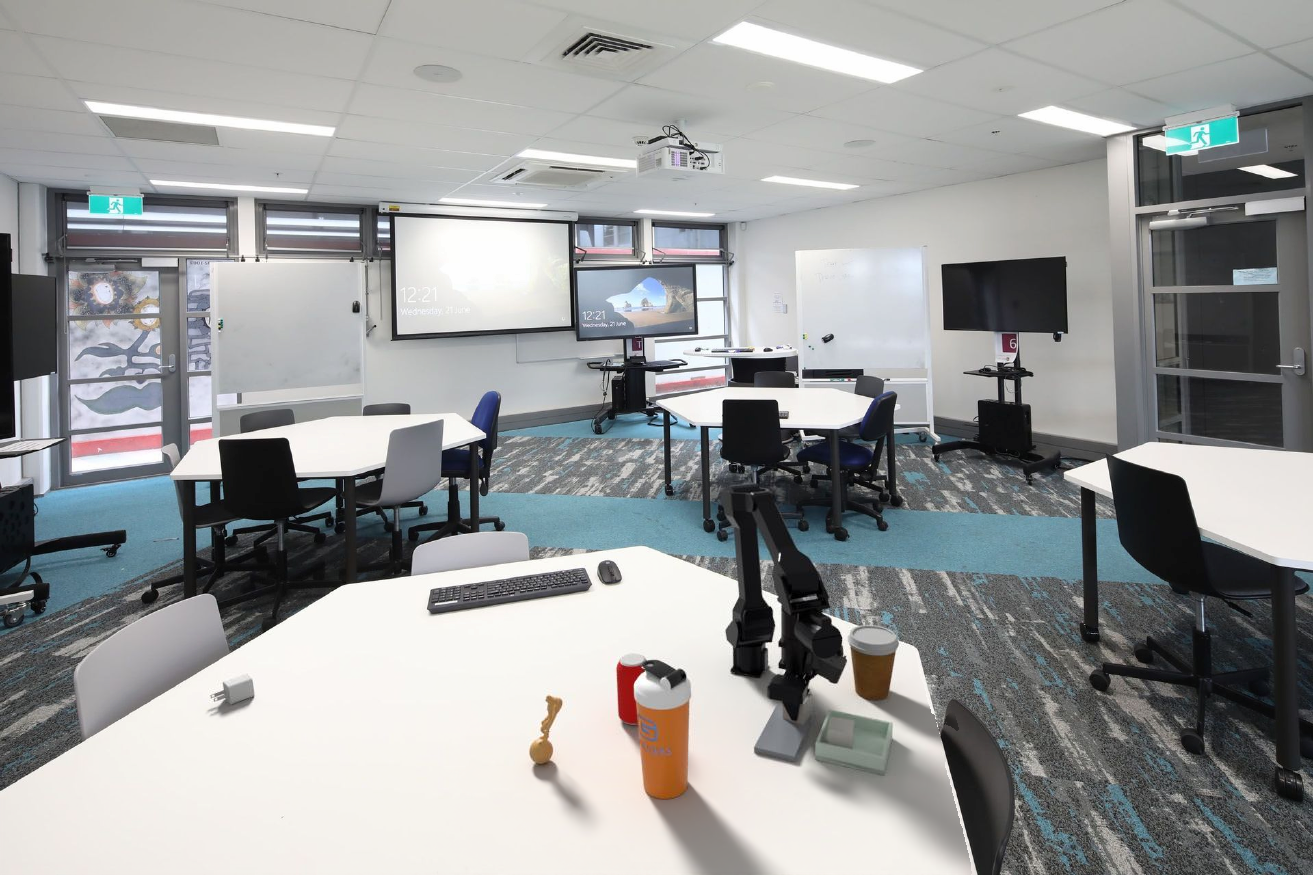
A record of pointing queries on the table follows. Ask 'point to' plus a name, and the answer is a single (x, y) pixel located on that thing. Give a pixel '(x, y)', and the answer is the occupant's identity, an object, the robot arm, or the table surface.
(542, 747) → the figurine
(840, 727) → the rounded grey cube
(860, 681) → the disposable coffee cup
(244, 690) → the usb wall charger
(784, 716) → the grey stone cube
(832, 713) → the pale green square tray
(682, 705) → the shaker bottle
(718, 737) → the table surface
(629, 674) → the beverage can
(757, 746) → the slate board
